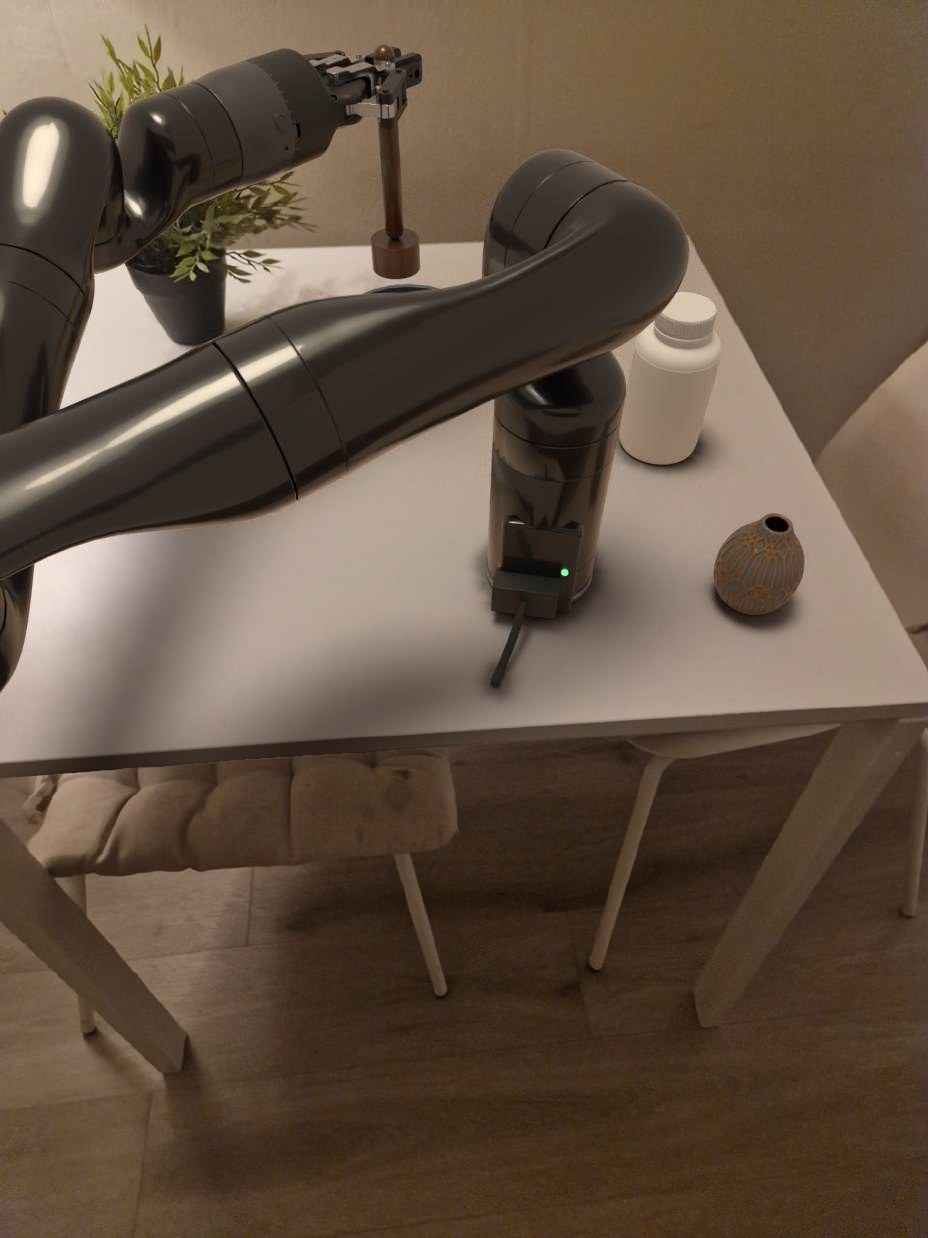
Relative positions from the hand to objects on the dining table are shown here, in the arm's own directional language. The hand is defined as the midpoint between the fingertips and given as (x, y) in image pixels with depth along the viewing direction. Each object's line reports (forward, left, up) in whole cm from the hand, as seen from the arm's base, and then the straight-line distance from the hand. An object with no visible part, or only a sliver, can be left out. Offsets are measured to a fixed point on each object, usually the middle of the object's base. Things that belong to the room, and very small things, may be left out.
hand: (408, 63), depth 69 cm
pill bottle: (-11, -27, -29) cm, 41 cm away
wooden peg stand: (-3, +2, -17) cm, 17 cm away
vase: (-31, -35, -29) cm, 55 cm away
